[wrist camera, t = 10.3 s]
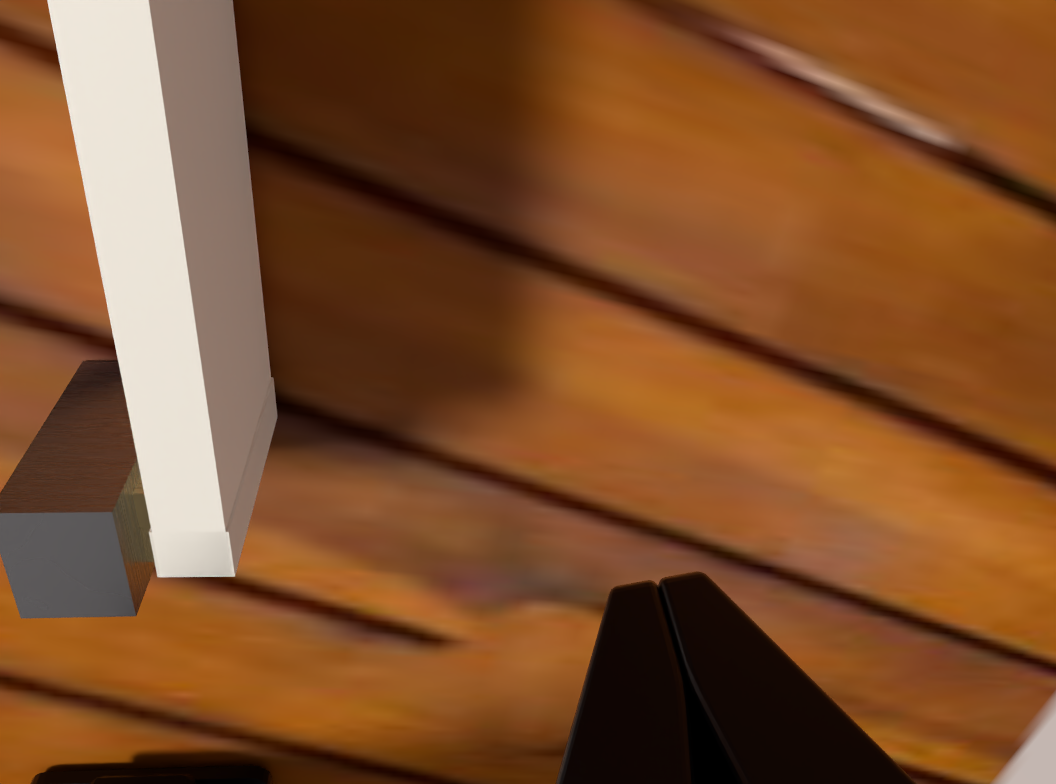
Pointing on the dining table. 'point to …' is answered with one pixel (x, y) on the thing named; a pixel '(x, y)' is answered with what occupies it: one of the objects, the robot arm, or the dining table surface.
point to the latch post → (79, 507)
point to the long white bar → (176, 259)
